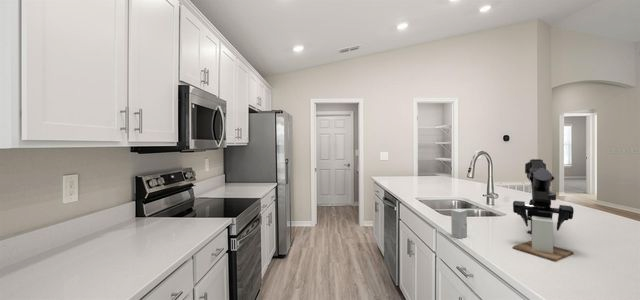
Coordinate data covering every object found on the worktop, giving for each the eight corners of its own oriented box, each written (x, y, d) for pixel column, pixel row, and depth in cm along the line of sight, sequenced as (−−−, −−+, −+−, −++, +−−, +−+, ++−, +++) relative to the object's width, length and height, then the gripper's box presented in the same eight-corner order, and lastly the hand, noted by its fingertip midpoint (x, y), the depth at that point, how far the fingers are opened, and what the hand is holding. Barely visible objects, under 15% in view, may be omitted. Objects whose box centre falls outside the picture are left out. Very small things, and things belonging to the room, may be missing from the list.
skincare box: (460, 238, 120) (460, 212, 120) (450, 236, 124) (450, 210, 124) (467, 236, 124) (467, 210, 123) (458, 233, 127) (457, 208, 127)
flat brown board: (531, 242, 115) (531, 229, 114) (573, 253, 102) (573, 240, 102) (512, 248, 108) (512, 235, 108) (555, 261, 96) (555, 247, 96)
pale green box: (531, 244, 110) (531, 215, 109) (551, 248, 106) (551, 218, 105) (532, 249, 105) (532, 219, 104) (553, 253, 101) (553, 221, 101)
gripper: (513, 181, 114) (511, 213, 106) (573, 185, 103) (576, 220, 94) (514, 197, 120) (512, 227, 112) (570, 201, 109) (574, 236, 101)
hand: (542, 227), depth 105 cm, fingers open, 9 cm apart
